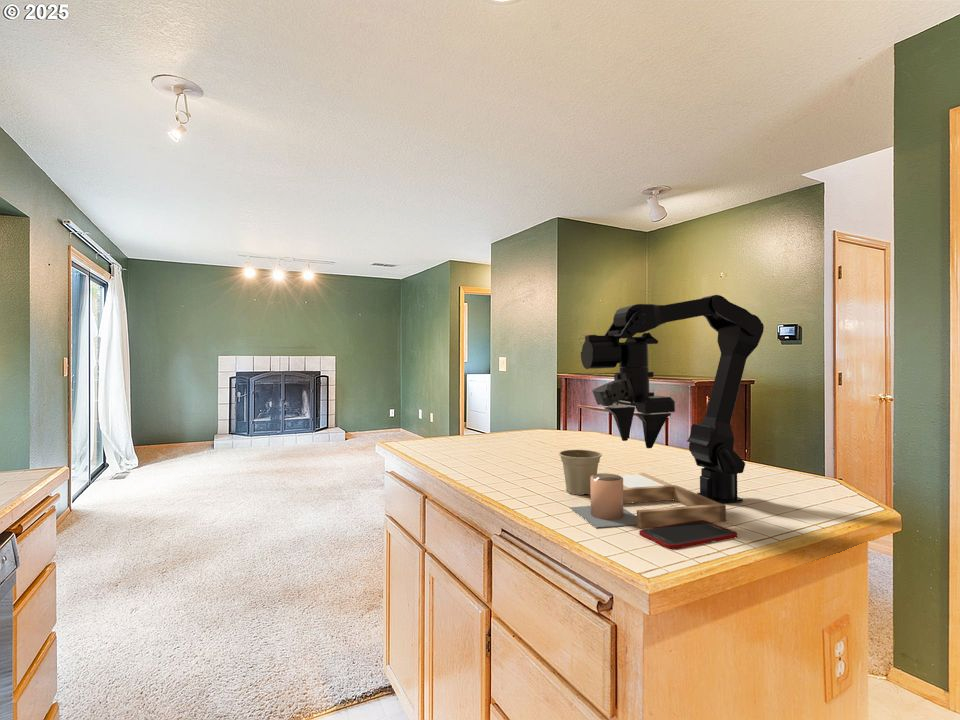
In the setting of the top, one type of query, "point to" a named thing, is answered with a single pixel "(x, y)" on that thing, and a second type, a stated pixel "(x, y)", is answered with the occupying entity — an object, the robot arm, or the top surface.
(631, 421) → the robot arm
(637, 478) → the wood framed whiteboard
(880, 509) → the top surface
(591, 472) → the flower pot
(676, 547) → the cell phone
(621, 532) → the top surface
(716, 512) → the wooden u-shaped frame
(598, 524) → the mat
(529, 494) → the top surface
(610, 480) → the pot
